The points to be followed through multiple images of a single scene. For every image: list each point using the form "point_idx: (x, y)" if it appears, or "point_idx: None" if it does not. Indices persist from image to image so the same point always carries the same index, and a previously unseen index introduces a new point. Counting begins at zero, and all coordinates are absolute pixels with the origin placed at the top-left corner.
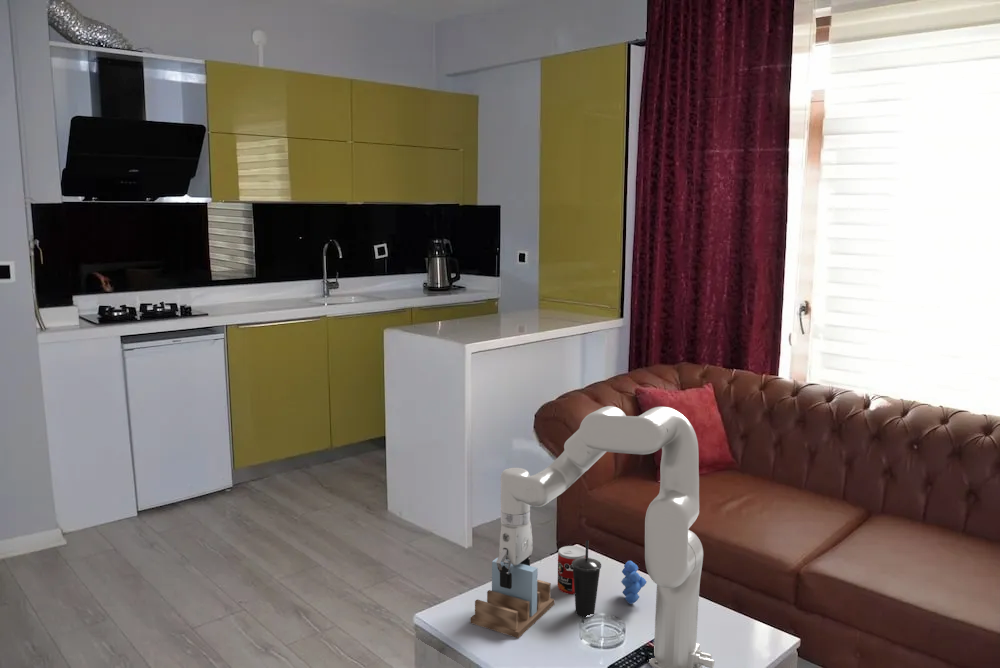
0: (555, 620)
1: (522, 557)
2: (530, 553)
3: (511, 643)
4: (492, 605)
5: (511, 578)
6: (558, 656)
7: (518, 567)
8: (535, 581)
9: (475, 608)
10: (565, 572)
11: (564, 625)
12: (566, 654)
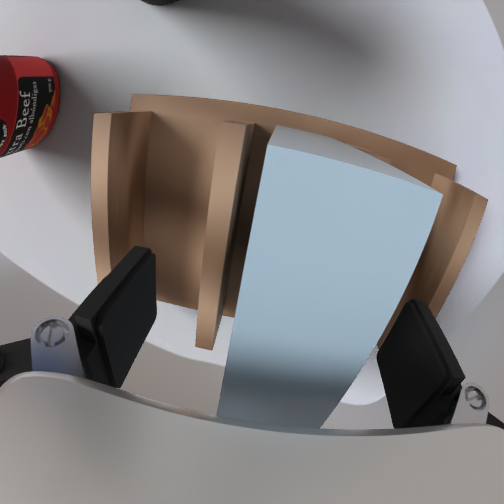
0: (270, 45)
1: (401, 491)
2: (75, 403)
3: (472, 178)
4: (433, 315)
5: (442, 347)
6: (486, 28)
7: (335, 381)
8: (315, 141)
9: None
10: (1, 107)
11: (296, 7)
12: (468, 4)
